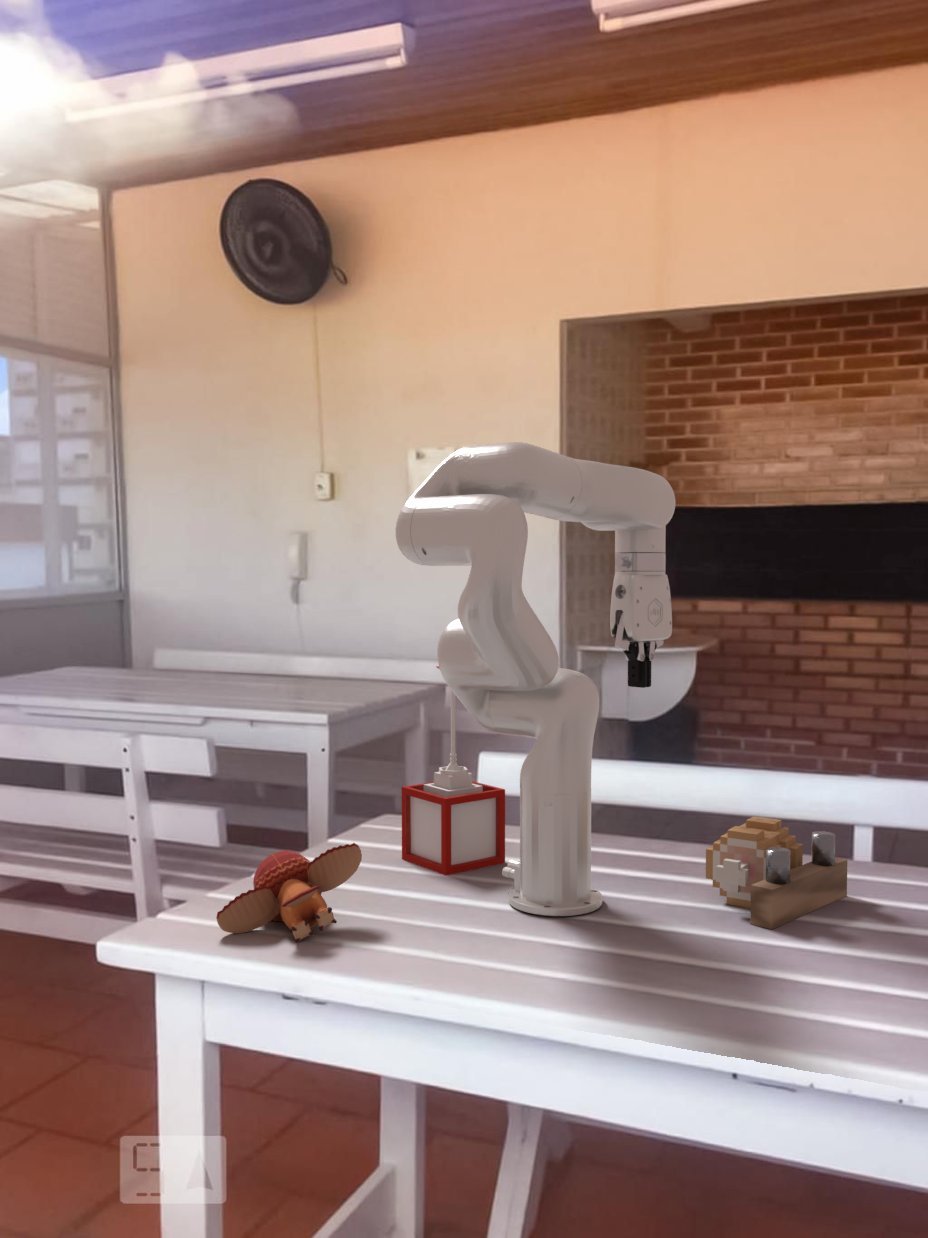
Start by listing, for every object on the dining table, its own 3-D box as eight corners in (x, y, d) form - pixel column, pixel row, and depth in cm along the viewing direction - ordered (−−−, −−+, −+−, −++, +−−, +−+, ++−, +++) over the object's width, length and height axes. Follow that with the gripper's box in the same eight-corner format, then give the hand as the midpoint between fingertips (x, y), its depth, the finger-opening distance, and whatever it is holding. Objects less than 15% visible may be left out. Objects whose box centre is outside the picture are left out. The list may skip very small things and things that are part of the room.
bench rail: (750, 923, 137) (751, 853, 137) (826, 891, 151) (827, 827, 151) (771, 929, 135) (772, 858, 135) (846, 895, 149) (847, 830, 149)
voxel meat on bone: (810, 887, 153) (811, 817, 153) (767, 921, 138) (768, 843, 138) (742, 876, 159) (743, 808, 158) (693, 907, 144) (694, 833, 144)
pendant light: (460, 847, 175) (459, 662, 174) (505, 862, 166) (505, 667, 165) (401, 859, 168) (401, 666, 167) (445, 875, 159) (445, 672, 158)
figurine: (394, 914, 136) (350, 860, 149) (376, 858, 133) (332, 808, 145) (250, 992, 129) (216, 929, 142) (226, 935, 126) (194, 876, 139)
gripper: (630, 565, 156) (629, 692, 156) (689, 565, 166) (688, 684, 167) (589, 565, 161) (588, 688, 162) (649, 565, 171) (648, 681, 172)
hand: (639, 686), depth 164 cm, fingers closed
